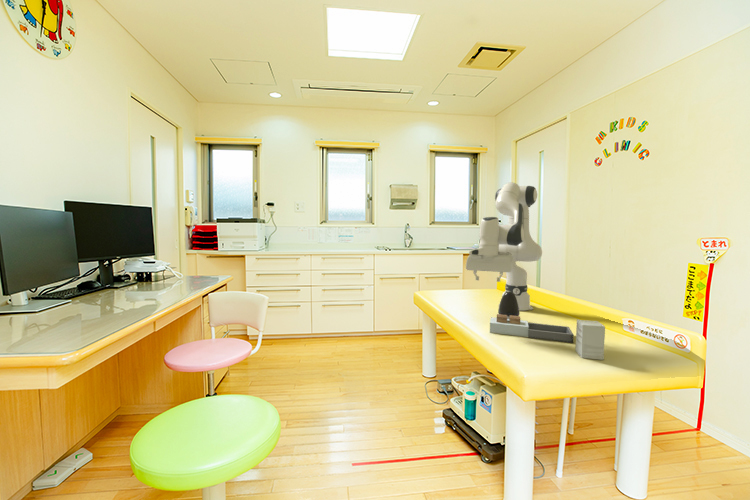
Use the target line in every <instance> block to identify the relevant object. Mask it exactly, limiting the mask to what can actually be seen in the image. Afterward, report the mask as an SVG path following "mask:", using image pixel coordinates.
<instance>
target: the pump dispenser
mask: <svg viewBox="0 0 750 500" xmlns="http://www.w3.org/2000/svg"><path fill="white" fill-rule="evenodd" d="M505 291H506V290H505ZM505 291H504V292H505ZM504 292H503V293H504ZM497 311H498V312H497V314H501V315H507V319H509V317H510V315H511V316H520V311H519V305H518V301H517V298H516V296H515V294H514V293H512V292H510V291H508V292H507V291H506V292H505V293H504V295H503V296H502V295H501V298H500V301H499V304H498V310H497Z"/></svg>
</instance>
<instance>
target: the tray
mask: <svg viewBox="0 0 750 500" xmlns="http://www.w3.org/2000/svg"><path fill="white" fill-rule="evenodd" d="M528 327H529V329H528V337H527V338H528V339H534V340H535V339H536V340H545V341H553V342H561V343H562V342H564V343H568V344H569V343H570V344H574V333H573V332H572V329H571V328H570V327H569V326H567V325H554V324H548V323H547V324H544V323H537V322H536V323H535V322H528Z"/></svg>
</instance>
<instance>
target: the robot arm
mask: <svg viewBox="0 0 750 500" xmlns="http://www.w3.org/2000/svg"><path fill="white" fill-rule="evenodd" d="M537 198H538V190H537V189H536V187H535V186H532V185H527V186H526V185H524V186H523V185H519V184H517V183H516V182H506V183H505V184H503V186H502V187H501V188H500V189H497V190H496V192H495V195H494V199H495V209H496V210H497V211H498V212H499V213H500V214H502V215H504V216H508V223H507V224H500V221H499V218H498V217H495V216H488V217H487V216H486V217H483V218H481V221H480V225H479V235H478V236H479V239H480V240H479V243H478V247H477V248H476V247H475V248H473V249H471V250H469V251H468V254H469V255H468V256H467V259H466V261H465V262H466V264H465V269H466V270H467V271H472V272H473V274H474V276H475V281H480V276H479V275H478V274H477V272H495V273H496V272H497V273H499V277H496V282H499V283H500V282H501V278H502V277H503V275H504V273H505V275H506V279H505V280H506V281H505V282H506V283H505V291H503V292H502V295H501V297H502V296H503V295H504V293H505V292H506V291H507V292H508V291H510V292H512V293H514V294H515V296H516V298H517V301H518V305H519V312H520V311H529V310H530V311H532V310H533V309H534V307H533V306H531V304H530V303H531V296H530V294H529V293H528V283H527V282H528V273H527V270H525V269H524V268H523V267H521V266H519V265H517V262H529V263H531V262H537V261H539V260H540V259H541V257H542V256H543V249H542V247H541V246H540V244H538V243H537V242H536V241H535V240H534V239H533V238H532V236H531V233H530V232H531V231H530V209H529V208H531V206H533V205H534V204H535V203H536V201H537Z"/></svg>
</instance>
